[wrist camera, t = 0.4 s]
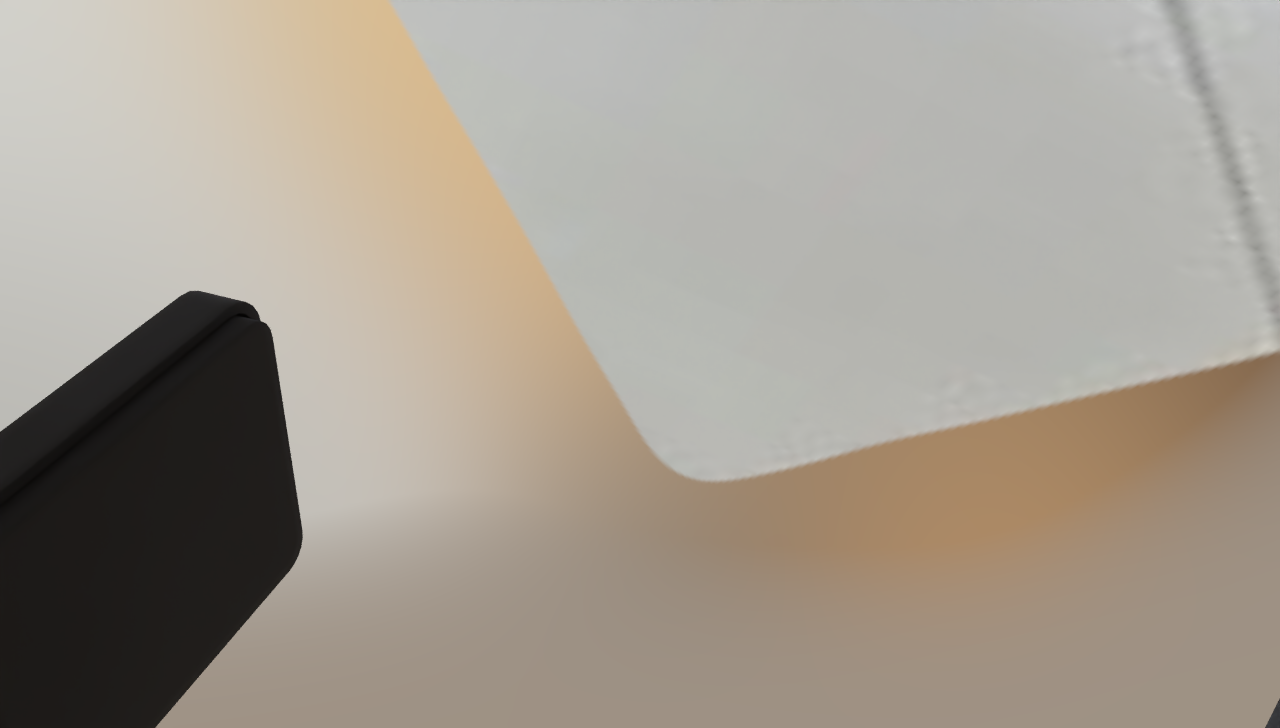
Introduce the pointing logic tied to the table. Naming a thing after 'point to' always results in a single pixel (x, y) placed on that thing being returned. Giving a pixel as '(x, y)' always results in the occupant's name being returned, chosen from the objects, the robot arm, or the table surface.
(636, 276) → the table surface
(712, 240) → the table surface
